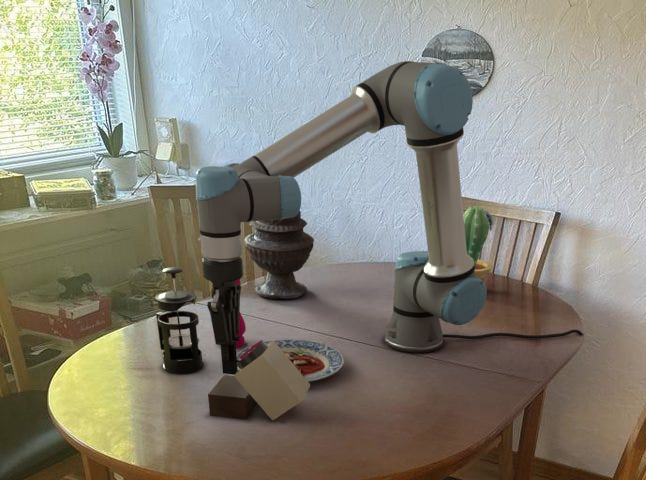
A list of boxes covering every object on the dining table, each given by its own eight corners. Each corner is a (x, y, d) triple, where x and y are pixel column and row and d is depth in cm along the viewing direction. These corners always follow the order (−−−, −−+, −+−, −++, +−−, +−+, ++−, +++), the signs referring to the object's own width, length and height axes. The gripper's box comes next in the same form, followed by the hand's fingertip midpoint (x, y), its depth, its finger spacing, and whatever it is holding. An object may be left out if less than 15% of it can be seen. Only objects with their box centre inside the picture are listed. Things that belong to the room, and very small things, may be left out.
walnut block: (261, 399, 153) (260, 378, 150) (246, 420, 144) (245, 398, 142) (225, 395, 154) (224, 374, 151) (209, 416, 145) (207, 394, 143)
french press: (214, 365, 167) (205, 268, 155) (185, 378, 160) (174, 278, 148) (179, 354, 173) (168, 259, 160) (149, 366, 166) (136, 268, 154)
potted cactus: (492, 297, 218) (503, 213, 204) (442, 296, 218) (450, 211, 204) (485, 283, 231) (495, 202, 217) (438, 281, 231) (446, 201, 217)
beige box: (308, 408, 151) (314, 343, 142) (299, 425, 144) (304, 358, 136) (241, 396, 152) (243, 330, 144) (229, 412, 145) (230, 344, 137)
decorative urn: (277, 276, 227) (275, 160, 206) (326, 293, 218) (330, 174, 197) (232, 293, 214) (226, 172, 193) (283, 313, 205) (282, 187, 184)
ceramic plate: (301, 401, 152) (301, 388, 151) (212, 372, 164) (211, 360, 162) (364, 363, 171) (364, 351, 170) (279, 340, 182) (279, 329, 181)
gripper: (215, 246, 138) (223, 359, 151) (189, 264, 127) (201, 383, 140) (251, 249, 137) (257, 362, 150) (229, 267, 126) (237, 387, 139)
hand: (230, 372), depth 145 cm, fingers closed
